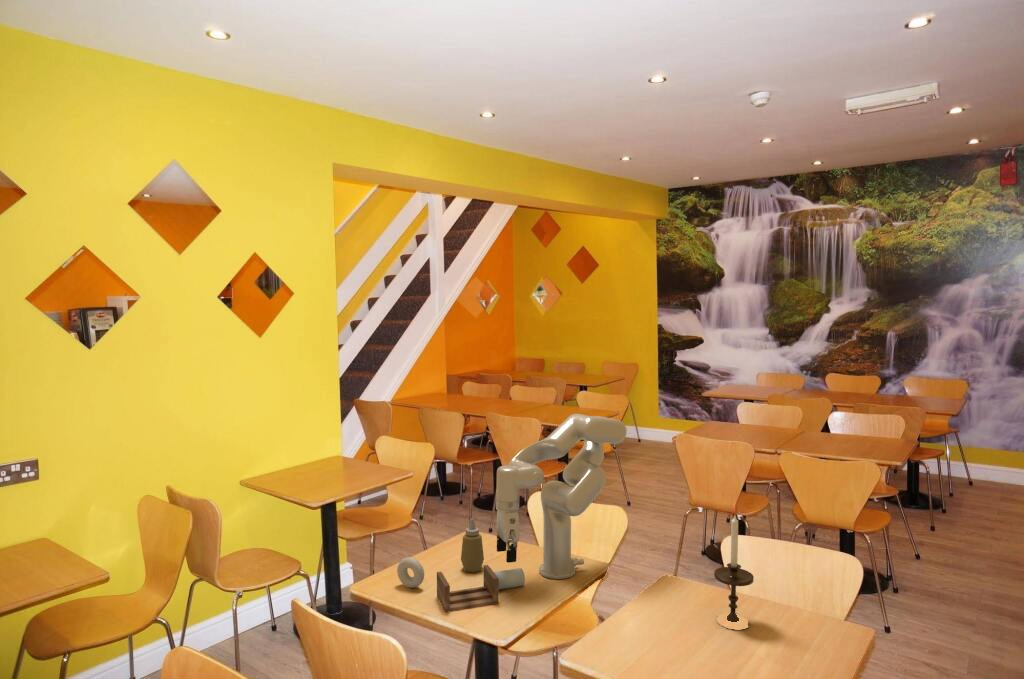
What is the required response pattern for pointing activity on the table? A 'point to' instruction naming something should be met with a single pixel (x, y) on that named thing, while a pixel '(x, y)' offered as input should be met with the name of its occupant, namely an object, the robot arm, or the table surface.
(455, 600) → the cradle
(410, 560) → the donut
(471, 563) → the squeeze bottle
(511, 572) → the roll
